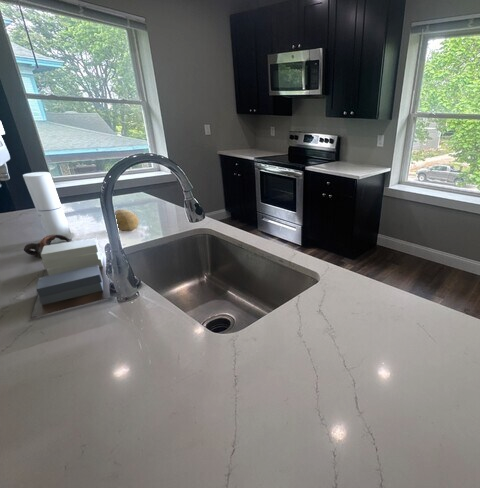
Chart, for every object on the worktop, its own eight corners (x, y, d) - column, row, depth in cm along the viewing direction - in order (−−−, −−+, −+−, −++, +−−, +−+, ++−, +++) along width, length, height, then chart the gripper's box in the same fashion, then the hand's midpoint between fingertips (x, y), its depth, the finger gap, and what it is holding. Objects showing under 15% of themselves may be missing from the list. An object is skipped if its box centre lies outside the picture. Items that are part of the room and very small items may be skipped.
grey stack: (41, 306, 76) (34, 289, 74) (45, 292, 82) (38, 276, 79) (104, 290, 83) (99, 275, 81) (104, 279, 88) (99, 264, 86)
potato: (119, 238, 117) (113, 219, 114) (109, 228, 126) (104, 210, 122) (146, 232, 124) (141, 214, 120) (135, 222, 132) (131, 205, 129)
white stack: (47, 277, 88) (41, 263, 86) (50, 267, 93) (45, 253, 91) (102, 266, 95) (98, 252, 93) (102, 257, 100) (98, 244, 98)
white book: (43, 262, 86) (40, 254, 85) (46, 253, 91) (43, 245, 90) (98, 252, 93) (96, 244, 92) (98, 244, 98) (96, 237, 97)
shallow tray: (33, 322, 73) (30, 317, 72) (49, 266, 96) (47, 262, 96) (111, 302, 81) (109, 297, 80) (108, 255, 105) (107, 251, 104)
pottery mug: (66, 247, 109) (69, 231, 106) (73, 266, 106) (77, 250, 102) (20, 250, 100) (22, 232, 96) (26, 271, 96) (28, 253, 92)
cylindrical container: (62, 243, 112) (37, 176, 101) (43, 242, 111) (16, 175, 101) (77, 235, 118) (55, 172, 107) (59, 234, 118) (35, 171, 107)
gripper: (-29, 124, 78) (-6, 176, 84) (-60, 131, 63) (-29, 195, 69) (5, 124, 81) (24, 174, 87) (-17, 131, 66) (9, 191, 72)
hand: (1, 183), depth 78 cm, fingers open, 8 cm apart
